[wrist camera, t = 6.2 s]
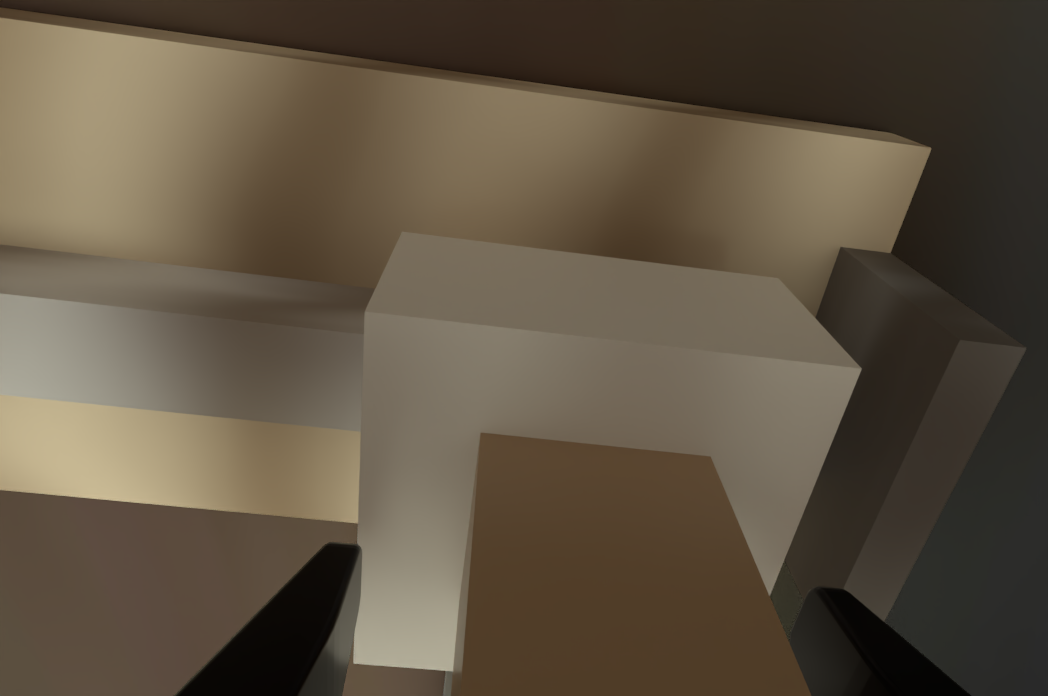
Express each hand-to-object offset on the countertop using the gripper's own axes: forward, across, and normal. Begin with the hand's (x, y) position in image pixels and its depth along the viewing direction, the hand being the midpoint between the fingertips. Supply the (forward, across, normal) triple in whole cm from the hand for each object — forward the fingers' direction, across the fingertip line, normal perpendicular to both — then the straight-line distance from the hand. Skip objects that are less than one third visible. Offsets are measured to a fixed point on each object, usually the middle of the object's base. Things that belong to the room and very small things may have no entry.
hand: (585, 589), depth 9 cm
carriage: (+5, 0, 0) cm, 5 cm away
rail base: (+8, +5, 0) cm, 9 cm away
